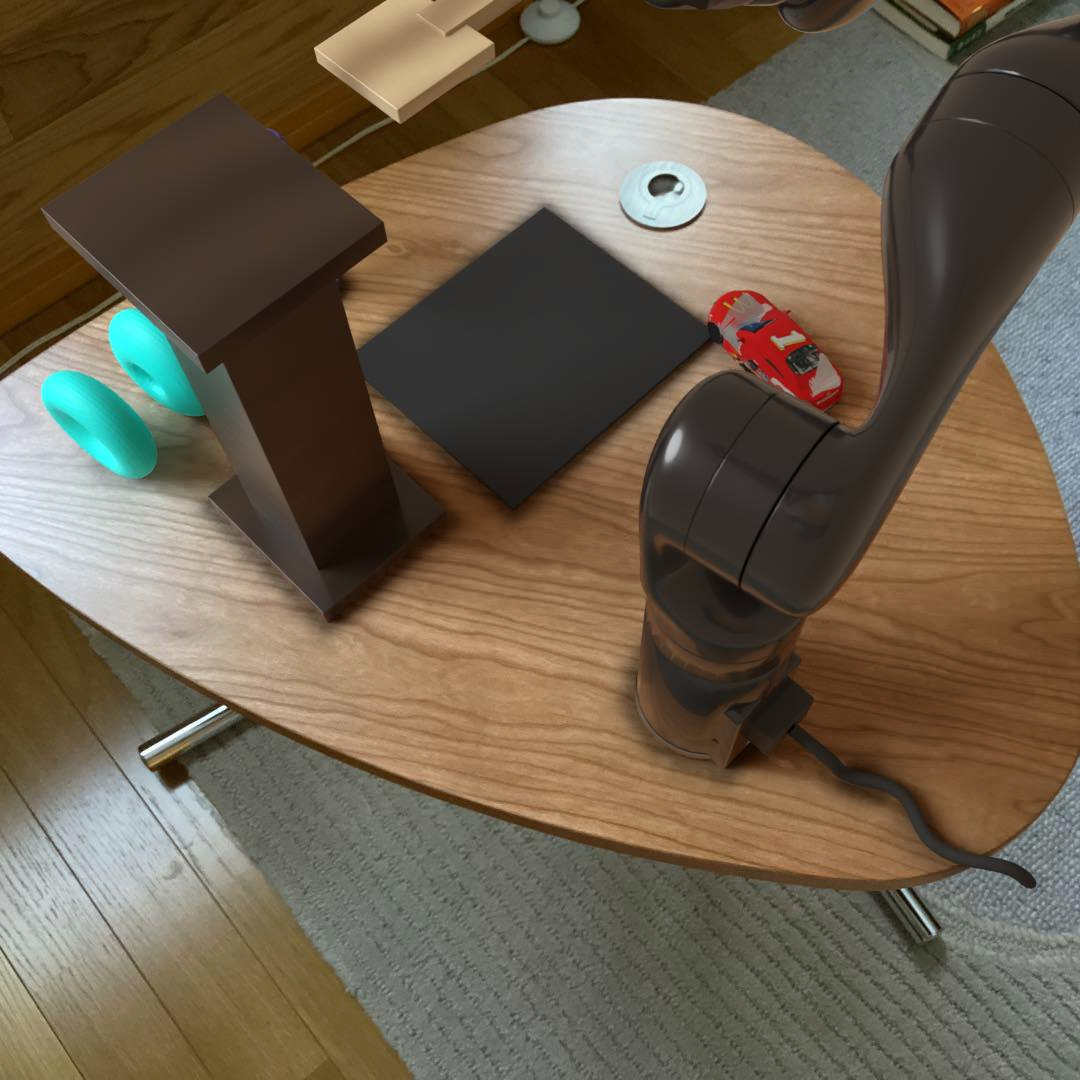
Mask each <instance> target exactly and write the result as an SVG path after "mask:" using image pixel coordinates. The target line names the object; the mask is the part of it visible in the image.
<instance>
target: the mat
mask: <svg viewBox="0 0 1080 1080" xmlns="http://www.w3.org/2000/svg"><path fill="white" fill-rule="evenodd" d="M711 340H713V339H712V338H711V336H710V334H709V330H708V327H707V325H705V324H704V323H703V322H701V321H700V320H698V319H697V318H695V317H694V316H693V315H692V314H690V313H689V312H688V311H686V310H685V309H684V308H682V307H680V305H678V304H677V303H675V302H674V301H673V300H671V299H670V298H669V297H667V296H666V295H665V294H663V293H662V292H661V291H660V290H658V289H656V288H655V287H654V286H652V285H651V284H649V282H647V281H645V280H644V279H643V278H642V277H640V276H639V275H637V274H636V273H635V272H634V271H632V270H631V269H629V268H628V267H626V266H625V265H624V264H623V263H621V262H620V261H618V260H617V259H616V258H614V256H612V255H610V254H609V253H608V252H606V251H605V250H603V249H602V248H601V247H599V245H597V244H595V243H594V242H592V240H589V239H588V238H587V237H585V235H583V234H582V233H580V232H579V231H578V230H576V229H575V228H574V227H572V226H571V225H570V224H568V223H567V222H565V221H564V220H563V219H561V218H560V217H559V216H557V215H556V214H555V213H554V212H552V211H550V210H549V209H548V208H546V207H545V206H543V207H542V208H541V209H539V210H538V211H537V212H536V213H534V214H533V215H532V216H530V217H529V218H528V219H526V220H525V221H523V222H522V223H521V224H519V225H518V226H517V227H516V228H514V229H513V230H512V231H511V232H509V233H508V234H507V235H505V236H504V237H503V238H501V239H500V240H499V241H497V242H496V243H494V245H492V246H491V247H489V249H487V250H486V251H485V252H483V253H482V254H481V255H479V256H478V257H476V258H475V259H474V260H473V261H472V262H470V263H469V264H467V265H466V266H465V267H464V268H463V269H461V270H459V271H458V272H457V273H456V274H454V275H453V276H452V277H450V278H449V279H448V280H446V281H445V282H444V283H443V284H441V285H440V286H439V287H438V288H436V289H434V291H432V292H431V293H429V294H428V295H427V296H425V297H424V298H423V299H422V300H421V301H419V302H418V303H416V304H415V305H414V306H413V307H411V308H410V309H409V310H407V311H406V312H405V313H404V314H402V315H401V316H399V317H398V318H397V319H396V320H394V321H393V322H392V323H390V324H389V325H388V326H387V327H385V328H384V329H382V330H381V331H380V332H378V333H377V334H376V335H375V336H373V337H372V338H371V339H369V340H368V341H367V342H365V343H364V344H363V345H362V346H360V347H359V348H358V349H356V351H357V354H358V358H359V361H360V365H361V368H362V372H363V375H364V379H365V382H366V383H367V384H369V386H371V387H372V388H373V389H374V390H376V391H377V392H378V393H379V394H380V395H382V396H383V398H385V399H386V400H387V401H388V402H389V403H390V404H391V405H393V406H394V408H396V409H397V410H398V411H400V412H401V413H402V414H403V415H404V416H405V417H406V418H408V419H409V420H410V421H411V422H412V423H413V424H414V425H415V426H417V428H419V430H421V431H422V432H423V433H424V434H426V435H427V436H428V437H430V439H431V440H433V441H434V442H435V444H437V445H438V446H439V447H440V448H442V449H443V450H444V451H445V452H446V453H448V454H449V456H451V458H453V459H454V460H455V461H456V462H457V463H459V464H460V465H461V467H463V468H464V469H466V470H467V472H469V473H470V474H471V475H472V476H474V478H476V480H478V481H479V482H480V483H481V484H482V485H484V486H485V487H486V488H487V489H488V490H489V491H491V492H492V493H493V494H494V495H495V496H496V497H497V498H499V499H500V500H501V501H502V502H503V503H504V504H505V505H506V506H507V507H509V508H510V509H511V510H512V511H516V510H517V509H518V508H519V507H520V506H521V505H523V504H524V503H525V502H526V501H528V499H530V498H531V497H532V496H533V495H534V494H535V493H536V492H538V491H539V490H540V489H541V488H543V487H544V486H545V485H546V484H547V483H548V482H549V481H550V480H552V479H553V478H554V477H555V476H556V475H557V474H559V472H561V471H562V470H563V469H564V468H566V467H567V465H569V464H570V463H571V462H572V461H573V460H574V459H576V458H577V457H578V456H579V455H581V454H582V452H584V451H585V450H586V449H587V448H588V447H590V446H591V445H592V444H593V443H594V442H595V441H597V440H598V439H599V438H600V437H602V435H603V434H604V433H606V432H607V431H608V430H609V429H610V428H611V427H612V426H614V425H615V424H616V423H617V422H618V421H619V420H621V419H622V418H623V417H624V416H625V415H626V414H627V413H629V412H630V411H631V410H632V409H633V408H635V407H636V406H637V405H638V404H639V403H641V401H643V399H645V398H646V397H647V396H649V394H651V393H652V392H653V391H654V390H655V389H656V388H658V386H660V385H661V384H662V383H663V382H665V380H667V379H668V378H669V377H670V376H671V375H672V374H674V373H675V372H676V371H677V370H678V369H679V368H681V367H682V366H683V365H684V364H685V363H687V361H689V360H690V359H691V358H692V357H694V355H696V354H697V353H698V352H699V351H700V350H701V349H702V348H704V347H705V346H706V345H707V344H708V343H709V342H710V341H711Z"/></svg>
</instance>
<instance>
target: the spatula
mask: <svg viewBox="0 0 1080 1080" xmlns="http://www.w3.org/2000/svg"><path fill="white" fill-rule="evenodd" d="M522 1H523V0H385V1H383V2H381V3H380V4H379V5H377V6H375V7H373V8H372V9H371V10H369V11H368V12H366V13H365V14H363V15H361V16H360V17H359V18H357V19H356V20H354V21H352V22H351V23H349V24H348V25H346V26H344V27H343V28H342V29H340V30H339V31H337V32H336V33H334V34H333V35H331V36H329V37H328V38H326V39H325V40H324V41H322V42H320V43H319V44H318V45H316V46H314V48H313V50H314V54H315V57H316V61H317V63H318V64H319V65H320V66H321V67H323V68H324V69H326V70H327V71H328V72H330V73H331V74H332V75H333V76H335V77H336V78H337V79H339V80H340V81H341V82H342V83H344V84H346V85H347V86H348V87H350V88H351V89H352V90H354V91H355V92H356V93H358V94H359V95H360V96H362V97H363V98H364V99H365V100H366V101H368V102H370V103H371V104H373V105H374V106H375V107H376V108H378V109H379V110H380V111H382V112H383V113H384V114H386V115H387V116H388V117H390V118H391V119H392V120H394V121H395V122H397V124H399V125H402V124H403V123H404V122H406V121H407V120H409V119H411V118H412V117H413V116H415V115H416V114H418V113H419V112H420V111H422V110H423V109H424V108H426V107H427V106H429V105H430V104H431V103H433V102H434V101H435V100H437V99H439V98H440V97H441V96H443V95H444V94H446V93H447V92H448V91H450V90H452V89H453V88H455V87H456V86H457V85H458V84H460V83H462V82H463V81H464V80H465V79H467V78H469V77H471V75H473V74H474V73H476V72H477V71H478V70H480V69H481V68H483V67H484V66H486V65H487V64H489V63H490V62H491V61H493V60H494V59H496V48H495V42H493V41H492V40H491V39H489V38H488V37H486V36H485V35H484V34H482V33H480V32H479V31H480V30H482V28H485V27H486V26H488V25H489V24H490V23H491V22H493V21H495V20H496V19H497V18H498V17H500V16H502V15H503V14H504V13H506V12H507V11H509V10H510V9H511V8H512V9H513V7H515V6H516V5H517V4H519V3H521V2H522Z"/></svg>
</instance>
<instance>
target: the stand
mask: <svg viewBox="0 0 1080 1080" xmlns="http://www.w3.org/2000/svg"><path fill="white" fill-rule="evenodd" d="M268 129H269V128H268ZM268 129H267V127H266V126H264V125H263V124H262V123H261V122H259V121H258V120H257V119H256V118H255V117H253V116H252V115H251V114H249V112H247V111H246V110H244V109H243V108H242V107H241V106H240V105H238V104H237V103H236V102H234V101H233V100H232V99H231V98H229V97H228V96H227V95H225V94H224V93H223V92H222V91H219V92H218V93H216V94H215V95H213V96H212V97H210V98H208V99H207V100H206V101H204V102H203V103H201V104H199V105H198V106H196V107H195V108H193V109H192V110H190V111H189V112H187V113H186V114H184V115H182V116H181V117H179V118H178V119H176V120H174V121H173V122H171V123H170V124H168V125H167V126H165V127H164V128H162V129H160V130H159V131H158V132H156V133H154V134H153V135H151V136H150V137H148V138H146V139H145V140H143V141H142V142H141V143H139V144H137V145H136V146H135V147H133V148H131V149H130V150H127V152H124V154H121V155H120V156H119V157H117V158H116V159H114V160H113V161H111V162H109V163H108V164H107V165H105V166H103V167H101V169H99V170H97V171H96V172H94V173H92V174H91V175H88V177H86V178H84V179H82V181H80V182H78V183H77V184H76V185H74V186H72V187H71V188H69V189H67V190H66V191H64V192H63V193H62V194H60V195H58V196H57V197H55V198H54V199H52V200H50V201H49V202H48V203H46V204H45V205H43V206H41V207H40V210H41V211H42V214H43V215H44V217H45V219H46V221H47V222H48V224H49V226H50V228H51V229H52V230H53V231H54V232H56V233H57V234H58V235H59V236H60V237H61V238H62V239H63V240H64V241H65V242H66V243H67V244H68V245H69V246H70V247H71V248H72V249H73V250H75V252H77V253H78V254H79V255H80V256H81V257H82V258H83V259H84V260H85V261H86V262H87V263H88V264H89V265H90V266H92V267H93V269H94V270H96V272H98V273H99V274H100V275H101V277H103V278H104V279H105V280H106V281H107V282H108V283H109V284H111V285H112V287H114V288H115V289H116V291H118V292H119V293H120V294H121V295H123V297H124V298H125V299H126V300H127V301H128V302H130V304H132V306H133V307H134V308H135V309H138V310H139V311H140V312H141V313H142V314H143V315H144V316H145V317H146V318H148V319H149V320H150V321H151V322H152V323H153V324H154V325H155V326H156V327H157V328H158V329H159V330H160V331H161V332H162V333H163V334H164V335H165V337H166V339H167V340H168V342H169V344H170V346H171V348H172V350H173V352H174V354H175V356H176V358H177V360H178V362H179V364H180V366H181V368H182V370H183V372H184V374H185V375H186V377H187V379H188V381H189V383H190V385H191V387H192V389H193V391H194V393H195V395H196V397H197V399H198V401H199V403H200V405H201V407H202V409H203V410H204V412H205V416H206V418H207V420H208V423H209V424H210V427H211V428H212V430H213V432H214V434H215V436H216V438H217V440H218V441H219V444H220V445H221V447H222V450H223V451H224V453H225V455H226V458H227V459H228V461H229V464H230V466H231V467H232V469H233V471H234V473H235V474H234V475H233V476H232V477H231V478H229V479H228V480H227V481H226V482H224V483H223V484H222V485H220V486H219V487H217V488H216V489H215V490H213V491H212V492H211V493H210V494H209V495H207V500H208V502H209V503H210V505H211V506H212V508H213V509H214V510H215V511H216V512H217V513H218V514H219V515H220V516H221V517H222V518H223V519H224V520H225V522H227V523H228V524H229V525H230V526H231V527H232V528H233V529H234V530H235V531H236V532H237V533H238V534H239V535H240V536H241V537H242V538H243V540H245V541H246V543H248V544H249V545H250V546H251V547H252V548H253V549H254V550H255V551H256V552H257V553H258V554H259V555H260V556H261V557H262V558H263V559H264V560H265V561H266V562H267V563H268V564H269V566H271V568H272V569H273V570H275V572H277V573H278V575H280V576H281V578H282V579H283V580H284V581H285V582H286V583H287V584H288V585H289V586H290V587H291V588H292V589H293V590H295V592H296V593H297V594H298V595H299V596H300V597H301V598H302V599H303V600H304V601H305V602H306V603H307V604H308V605H309V606H310V607H311V608H312V609H313V610H314V611H315V612H316V613H317V614H318V615H319V616H320V617H321V618H322V619H323V620H324V621H325V623H328V622H330V621H331V620H332V619H333V618H335V617H336V616H337V615H338V614H339V613H341V612H342V611H343V610H344V609H346V607H348V606H349V605H350V604H351V603H352V602H353V601H355V600H356V599H357V598H359V596H360V595H362V594H363V593H364V592H365V591H366V590H367V589H369V588H370V587H371V586H373V585H374V583H376V582H377V581H378V580H380V579H381V578H382V577H383V576H384V575H386V573H388V572H389V571H390V570H391V569H392V568H394V567H395V566H396V565H398V563H399V562H400V561H402V560H403V559H404V558H405V557H406V556H407V555H409V554H410V553H412V552H413V551H414V549H416V548H417V547H419V545H421V543H423V542H424V541H425V540H426V539H428V538H429V537H430V536H432V535H433V533H435V532H436V531H437V530H438V529H439V528H441V527H442V526H443V525H445V523H447V521H448V520H449V518H448V513H447V509H445V508H444V507H443V506H442V505H441V504H440V503H439V502H438V501H436V499H434V498H433V497H432V496H431V495H430V494H429V493H427V492H426V490H425V489H423V488H422V487H421V486H420V485H419V484H418V483H416V481H414V479H412V478H411V477H410V476H409V475H408V474H407V473H406V472H405V471H403V470H402V469H401V468H400V467H399V466H398V465H396V464H395V462H394V461H392V460H391V459H390V457H388V456H387V452H386V449H385V446H384V442H383V438H382V434H381V432H380V428H379V424H378V421H377V418H376V417H377V416H376V415H375V414H376V413H375V410H374V407H373V403H372V400H371V396H370V393H369V390H368V386H367V381H366V380H365V379H364V375H363V372H362V368H361V365H360V361H359V358H358V354H357V351H356V350H357V348H356V344H355V341H354V337H353V333H352V330H351V327H350V323H349V320H348V317H347V313H346V312H347V311H346V310H345V309H346V308H345V304H344V302H343V299H342V295H341V290H340V291H339V288H338V284H337V281H336V279H337V278H339V279H340V277H342V276H343V275H344V274H346V273H347V272H348V271H349V270H351V269H352V268H354V267H356V266H357V265H358V264H359V263H361V262H362V261H363V260H365V259H366V258H367V257H369V256H370V255H372V254H373V253H374V252H376V251H377V250H378V249H380V248H381V247H383V246H384V245H385V244H387V243H388V241H389V239H388V235H387V232H386V225H385V222H384V221H383V220H382V219H381V218H379V216H377V215H376V214H374V213H373V211H371V210H370V209H369V208H367V207H366V206H365V205H363V204H362V203H361V202H360V201H358V200H357V199H356V198H354V197H353V196H352V195H351V194H349V192H347V191H346V190H345V189H343V188H342V187H341V186H340V185H338V184H337V183H336V182H335V181H333V179H331V178H330V177H328V176H327V175H326V174H325V173H323V172H322V171H321V170H320V169H319V168H317V167H316V166H315V165H313V164H312V163H311V162H309V161H308V160H307V159H306V158H304V156H302V155H300V154H299V153H298V152H297V151H296V150H294V149H293V148H292V147H291V146H290V145H289V146H290V147H289V146H288V145H287V144H286V143H284V142H283V141H282V140H281V139H279V138H278V137H277V136H276V135H274V134H273V133H272V132H271V131H269V130H268Z"/></svg>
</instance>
